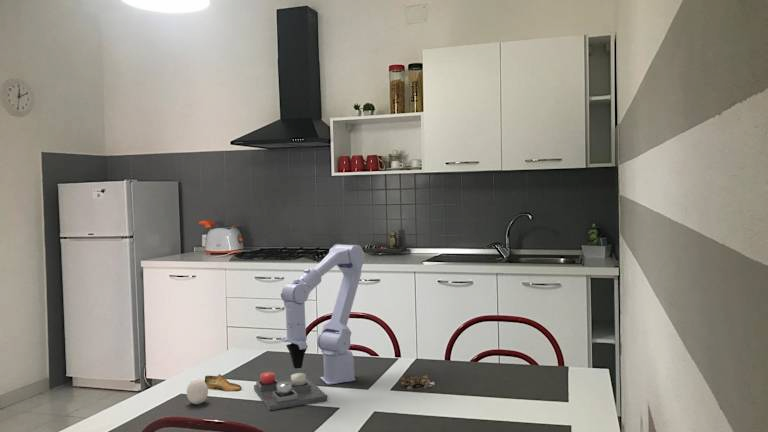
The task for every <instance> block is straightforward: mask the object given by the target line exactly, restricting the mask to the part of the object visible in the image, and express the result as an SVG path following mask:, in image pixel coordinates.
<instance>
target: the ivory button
mask: <svg viewBox="0 0 768 432" xmlns="http://www.w3.org/2000/svg"><path fill="white" fill-rule="evenodd" d="M306 377H307V375H306V373H303V372H297V373H293V374H291V375H290V379H291V383H292V385H294V386H300V385H304V384H306Z"/></svg>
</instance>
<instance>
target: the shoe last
mask: <svg viewBox="0 0 768 432" xmlns="http://www.w3.org/2000/svg"><path fill="white" fill-rule="evenodd" d="M203 381H204V382H205V383H206V385H207V387H208V390H210V389H211V390H213V389H218V390H221V389H222V390H221V391H225V392H236V391H237V390H239V391H241V389H242V386H241V385H240V384H238V383H234V382H233V383H232V382H230V381H228V380H227V379H226V378H225V377H224V376H223V375H222V374H220V373H219V374H218V375H205V376H204V380H203Z"/></svg>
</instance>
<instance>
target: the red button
mask: <svg viewBox="0 0 768 432" xmlns="http://www.w3.org/2000/svg"><path fill="white" fill-rule="evenodd" d="M259 376H260V381H261V384H272V383H275V379H276V373H275V372H273V371H266V372H262V373H260V375H259Z"/></svg>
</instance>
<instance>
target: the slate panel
mask: <svg viewBox="0 0 768 432" xmlns="http://www.w3.org/2000/svg"><path fill="white" fill-rule="evenodd" d="M281 382H291V378H289V379H283V380H277V379H276V378H275V383H272V384H261V380H257V381H256V382H255V383H256V384H254V385H253V390H254V392H255V393H256V394H257V396H258V397H259V399H260V400H261V401H262V402H263V404H264V406H265V407H266V406H267V407H266V408H267V409H268V411H269V410H271V411H274V410H275V411H276V410H282V409H286V408H287V407H288V408H293V406H294V407H298V406H305V405H310V404H316V403H321V402H327V401H328V395H327V394H326V393H325V392H323V391H322V390H321V388H319V387H318V385H316V384H315V383H314V382H313V381H312V380H311V379H310V378H309V377H308V376H306V384H304V385H300V386H294V385H292V393H291V394H288V395H278V394H277V384H278V383H281ZM281 408H282V409H281Z"/></svg>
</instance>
